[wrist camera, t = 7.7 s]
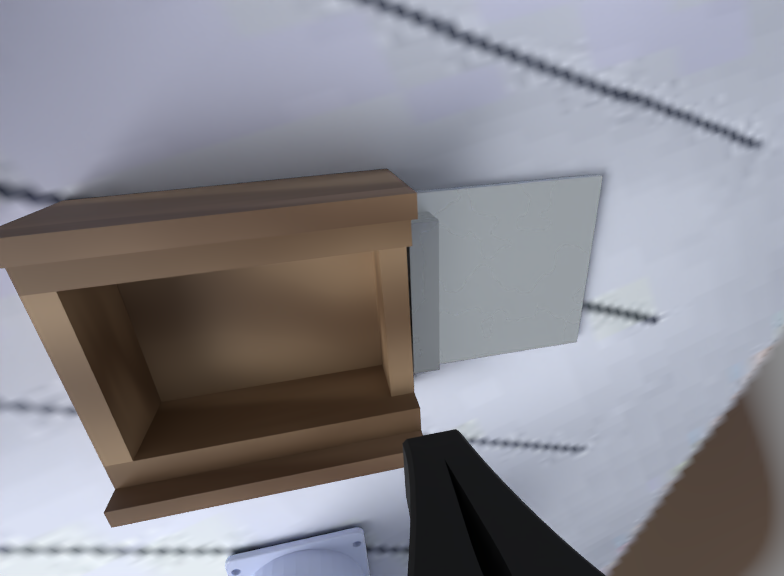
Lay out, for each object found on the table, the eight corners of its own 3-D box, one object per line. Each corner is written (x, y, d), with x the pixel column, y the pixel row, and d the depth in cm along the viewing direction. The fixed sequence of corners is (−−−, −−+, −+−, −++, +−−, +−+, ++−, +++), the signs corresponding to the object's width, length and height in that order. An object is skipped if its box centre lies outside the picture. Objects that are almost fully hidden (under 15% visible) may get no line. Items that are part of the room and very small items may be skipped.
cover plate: (566, 332, 23) (594, 357, 20) (399, 358, 21) (410, 388, 19) (588, 172, 19) (626, 181, 17) (390, 190, 18) (402, 203, 15)
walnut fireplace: (402, 386, 21) (427, 462, 17) (155, 430, 20) (111, 527, 15) (386, 168, 17) (416, 192, 12) (62, 200, 15) (-41, 242, 11)
